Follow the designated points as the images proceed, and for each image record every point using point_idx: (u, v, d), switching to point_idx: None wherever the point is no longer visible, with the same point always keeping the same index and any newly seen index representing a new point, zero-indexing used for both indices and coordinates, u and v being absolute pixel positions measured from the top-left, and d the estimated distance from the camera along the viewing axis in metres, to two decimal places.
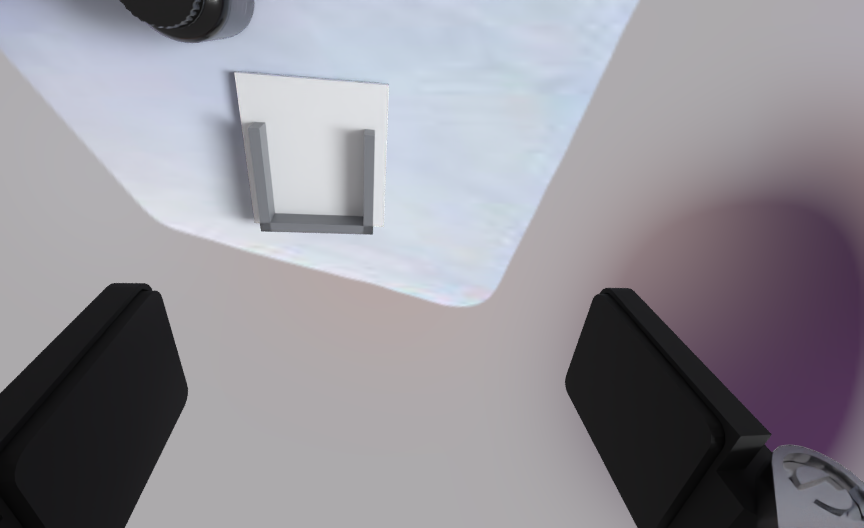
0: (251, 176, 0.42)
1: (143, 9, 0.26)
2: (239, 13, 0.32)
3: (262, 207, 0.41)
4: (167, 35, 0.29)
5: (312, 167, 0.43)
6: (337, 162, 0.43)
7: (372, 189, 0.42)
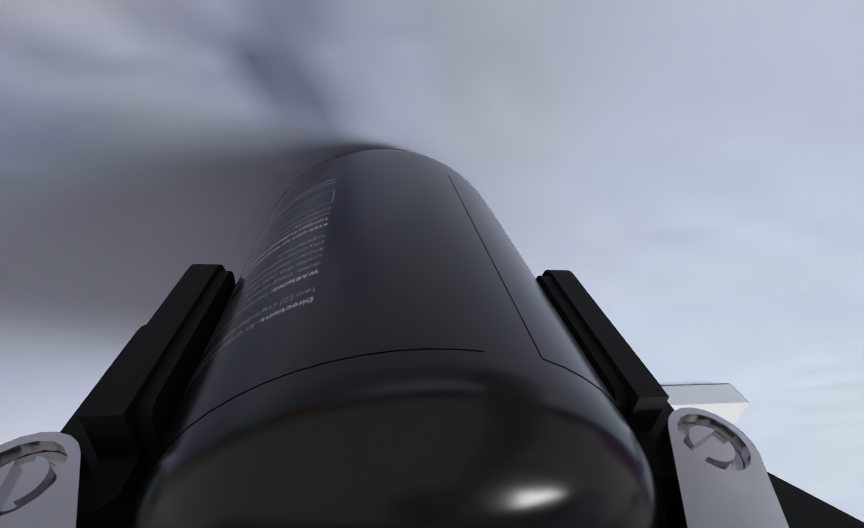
0: None
1: None
2: None
3: None
4: None
5: None
6: None
7: None
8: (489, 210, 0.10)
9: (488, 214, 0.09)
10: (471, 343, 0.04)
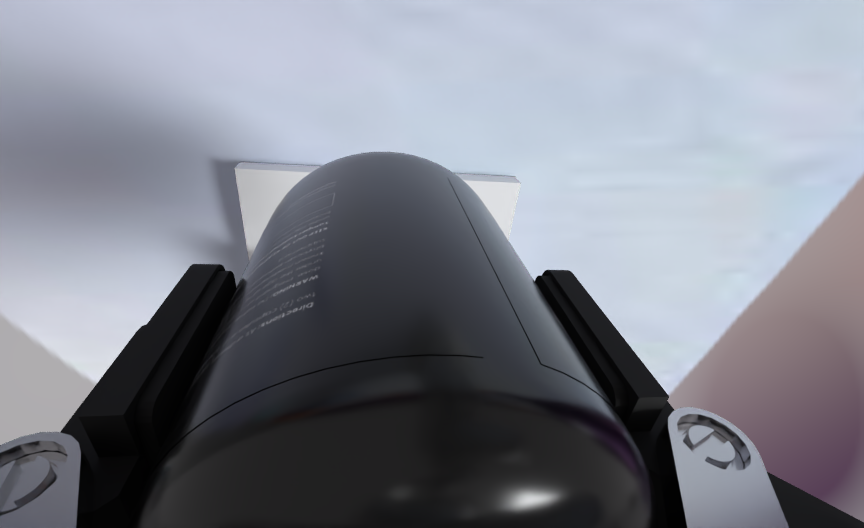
0: None
1: None
2: None
3: None
4: None
5: None
6: None
7: None
8: (489, 213, 0.10)
9: (488, 217, 0.09)
10: (471, 349, 0.04)
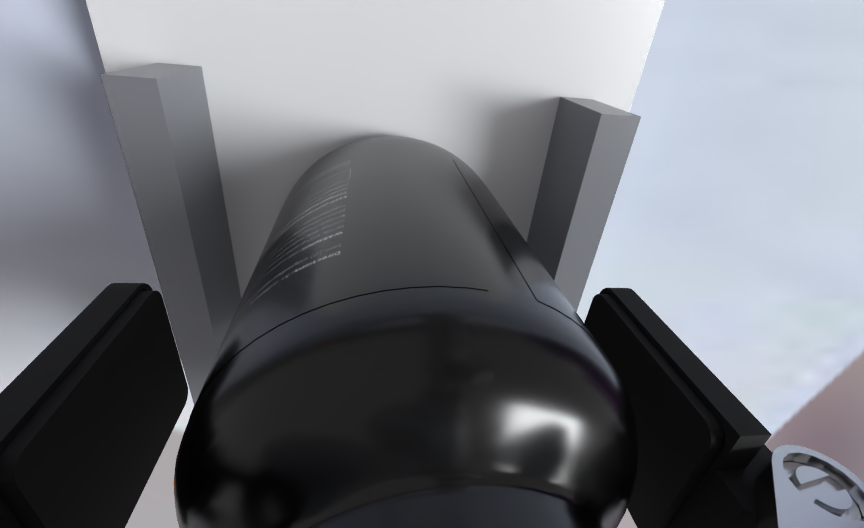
0: None
1: None
2: None
3: (200, 369, 0.12)
4: None
5: None
6: None
7: (576, 302, 0.12)
8: (490, 193, 0.11)
9: (490, 195, 0.10)
10: (478, 285, 0.05)
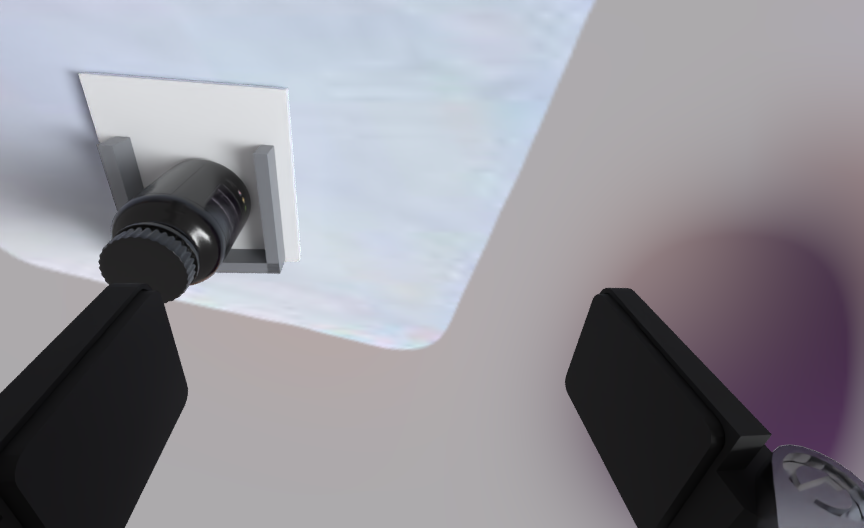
0: None
1: None
2: (235, 240, 0.31)
3: None
4: None
5: None
6: None
7: (273, 219, 0.33)
8: (227, 178, 0.32)
9: (220, 179, 0.31)
10: (169, 193, 0.26)
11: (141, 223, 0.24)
